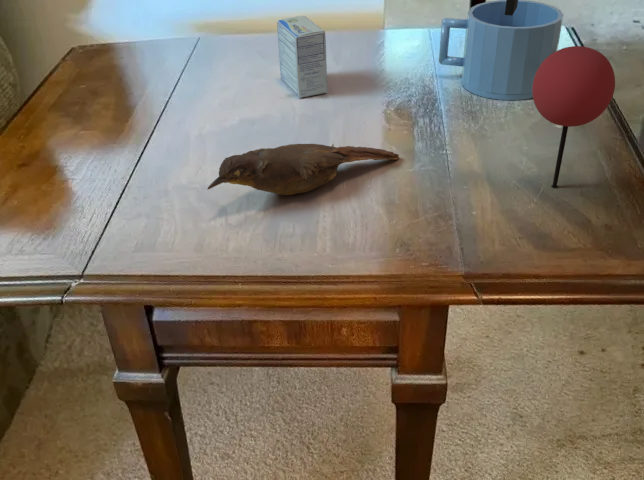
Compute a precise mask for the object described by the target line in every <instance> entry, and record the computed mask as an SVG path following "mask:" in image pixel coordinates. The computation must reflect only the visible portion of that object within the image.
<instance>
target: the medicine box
mask: <svg viewBox="0 0 644 480" xmlns="http://www.w3.org/2000/svg"><path fill="white" fill-rule="evenodd" d="M276 27H277V28H276V29H277V43H278V59H279V60H278V61H279V72H280V73H279V74H280V75H279V76H280V80H281V81H282V82H283V83H284V84H285V85H286V86H287V87H288V88H289V89H290V90H291V91H292V92H293V93H294V94H295V95H297V97H298V98H299V99H301V98H308V97H313V96H317V95H324V94H326V93H328V71H327V69H328V67H327V45H326V44H327V39H326V37H327V36H326V30H324V29H322V27H320V26H319V25H318V24H316V23H315V22H314V21H313V20H311V19H310V18H309V17H307V15H300V16H292V17H286V18H282V19H278V20H277V21H276Z"/></svg>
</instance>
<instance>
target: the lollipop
mask: <svg viewBox="0 0 644 480" xmlns="http://www.w3.org/2000/svg"><path fill="white" fill-rule="evenodd" d="M615 90H616V76H615V71H614V68H613V66H612V63H611V62H610V61H609V59H608V58H607V57H606V56H605V55H604V54H603V53H602V52H600V51H599V50H596V49H594V48H592V47H588V46H583V45H573V46H567V47H563V48H560V49H558V50H557V51H556V52H554V53H552V54H551V55H550V56H548V57H547V58H546V59H545V60H544V61H543V62H542V64H541V65H540V66H539V68H538V70H537V72H536V74H535V77H534V80H533V87H532V93H533V98H532V100H533V103H534V106H535V107H536V109H537V111H538V113H539V114H540V116H542V117H543V119H545V120H546V121H548V122H550V123H551V124H554V125H557V126H561V127H562V130H561V134H560V141H559V146H558V151H557V157H556V163H555V169H554V174H553V179H552V185H551V188H555V189H556V188H558V182H559V177H560V172H561V167H562V162H563V156H564V150H565V146H566V141H567V135H568V130H569V127H571V128H572V127H580V126H584V125H587V124H589V123H592V122H594V120H596V119H597V118H599V117H600V116H601V115H602V114H603V113H604V112H605V111H606V110H607V109H608V107H609V105H610V103H611V101H612V99H613V97H614V94H615Z"/></svg>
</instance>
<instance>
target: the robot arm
mask: <svg viewBox="0 0 644 480" xmlns="http://www.w3.org/2000/svg"><path fill="white" fill-rule="evenodd" d="M517 4H518V0H506V8H505V15H511V16H512V15H513V14H514V12H515V10H516V8H517Z"/></svg>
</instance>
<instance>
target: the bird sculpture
mask: <svg viewBox="0 0 644 480" xmlns="http://www.w3.org/2000/svg"><path fill="white" fill-rule="evenodd" d="M334 145H335V144H334V143H332V144H331V146H330V145H326V144H325V145H324V144H320V143H319V144H318V143H292V144H291V143H290V144H286V145H280V146H277V147H274V148H272V147H271V148H270V147H268V148H259V149H254V150H249V151H247V152H243V153H242V154H234V155H230V156H228V157H225V158H224V159H223V161H222V162H221V164H220V166H219V168H218V170H219V171H218V177H216V178H215V179H214V180H213V181H212V182H211V183H210V184H209V185H208V187H207V190H211V189H213V188H214V187H217V186H219V185H221V184H231V185H239V186H244V187H245V186H247V187H250V188H253V189H255V190H257V191H263V192H268V193H272V194H276V195H283V196H293V195H297V194H298V195H299V194H304V193H308V192H310V191H313V190H314V189H316V188H318V187H319V188H320V187H321V186H323V185H325V184H327V183H328V182H330V181H332V180H334V179H335V177H336V176H337V171H338V168H339V166H341V165H342V164H345V163H353V162H358V161H359V162H361V161H368V160H373V161H382V160H383V161H385V160H394V161H397V160H400V154H399V153H395V152H393V151H389V150H387V149H386V150H385V149H382V148H375V147H366V146H354V145H347V146H338V147H337V146H334Z"/></svg>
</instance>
